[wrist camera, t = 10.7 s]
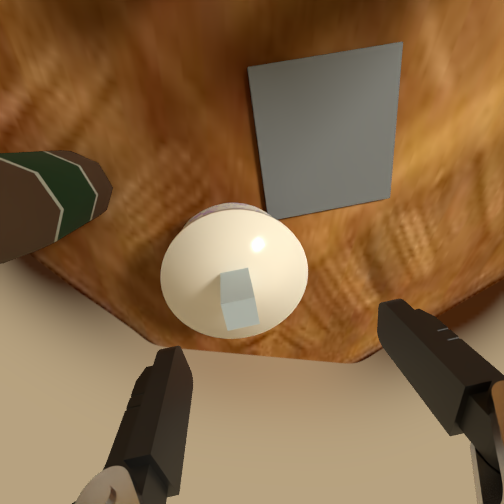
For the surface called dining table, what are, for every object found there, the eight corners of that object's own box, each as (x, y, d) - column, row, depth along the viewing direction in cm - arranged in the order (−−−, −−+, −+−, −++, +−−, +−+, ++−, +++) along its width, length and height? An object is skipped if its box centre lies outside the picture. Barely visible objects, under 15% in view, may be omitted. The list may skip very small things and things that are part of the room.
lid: (300, 194, 24) (324, 210, 19) (309, 319, 31) (330, 358, 25) (139, 225, 24) (114, 251, 18) (185, 345, 30) (177, 392, 25)
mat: (399, 43, 27) (403, 41, 26) (387, 196, 34) (389, 197, 33) (247, 68, 26) (247, 67, 25) (267, 219, 33) (268, 221, 33)
